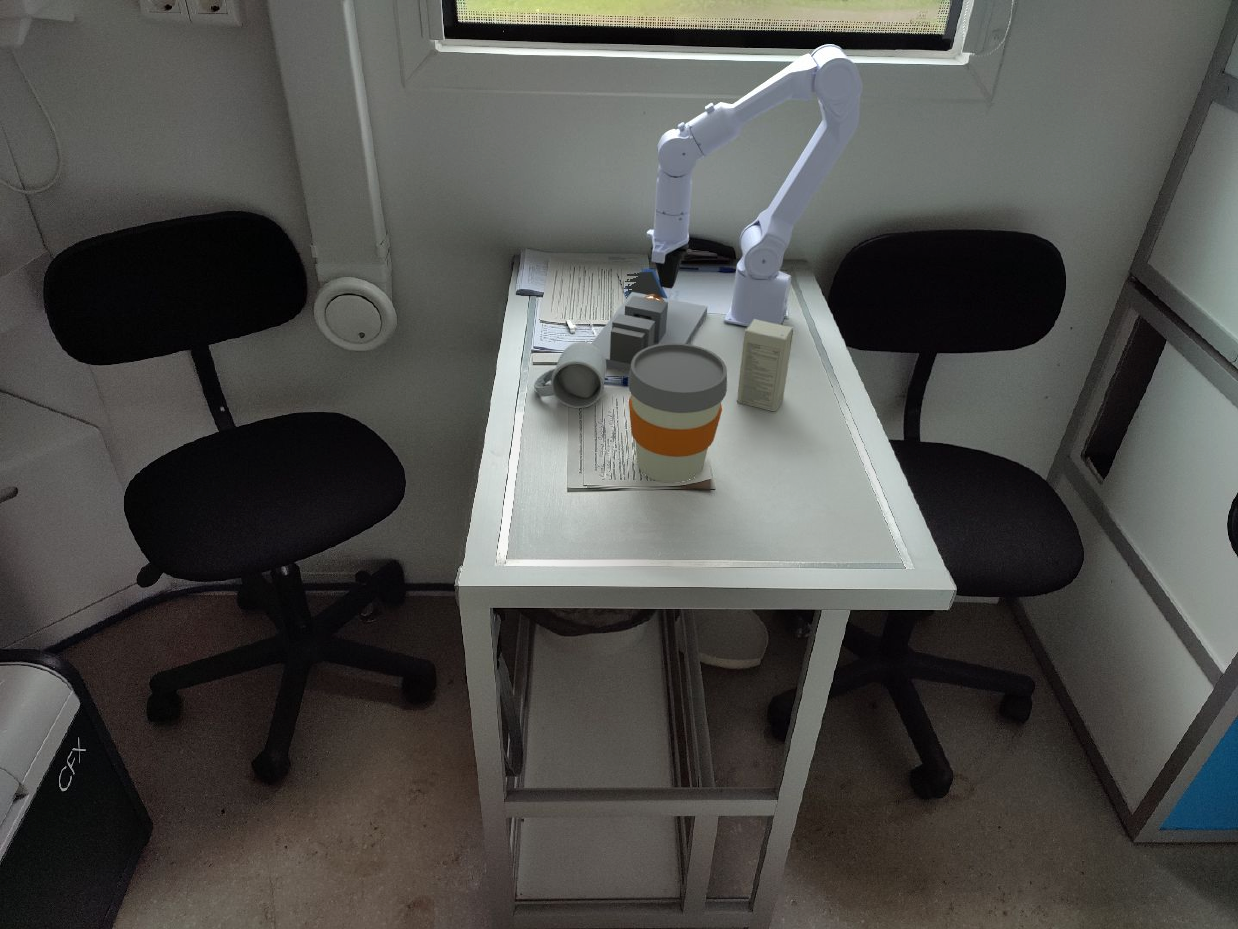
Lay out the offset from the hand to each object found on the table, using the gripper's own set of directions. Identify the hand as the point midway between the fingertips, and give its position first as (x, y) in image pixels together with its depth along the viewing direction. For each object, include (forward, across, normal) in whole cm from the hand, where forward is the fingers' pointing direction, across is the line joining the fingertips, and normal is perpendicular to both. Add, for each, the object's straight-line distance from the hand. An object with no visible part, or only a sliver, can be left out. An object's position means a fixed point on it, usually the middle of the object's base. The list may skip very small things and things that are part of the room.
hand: (667, 286), depth 147 cm
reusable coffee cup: (+5, +41, +13) cm, 44 cm away
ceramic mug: (+5, +31, -6) cm, 32 cm away
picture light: (+6, +10, -12) cm, 17 cm away
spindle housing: (+5, +9, 0) cm, 11 cm away
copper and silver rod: (+3, +13, 0) cm, 13 cm away
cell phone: (+6, -8, -7) cm, 12 cm away
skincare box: (+6, +22, +21) cm, 31 cm away
